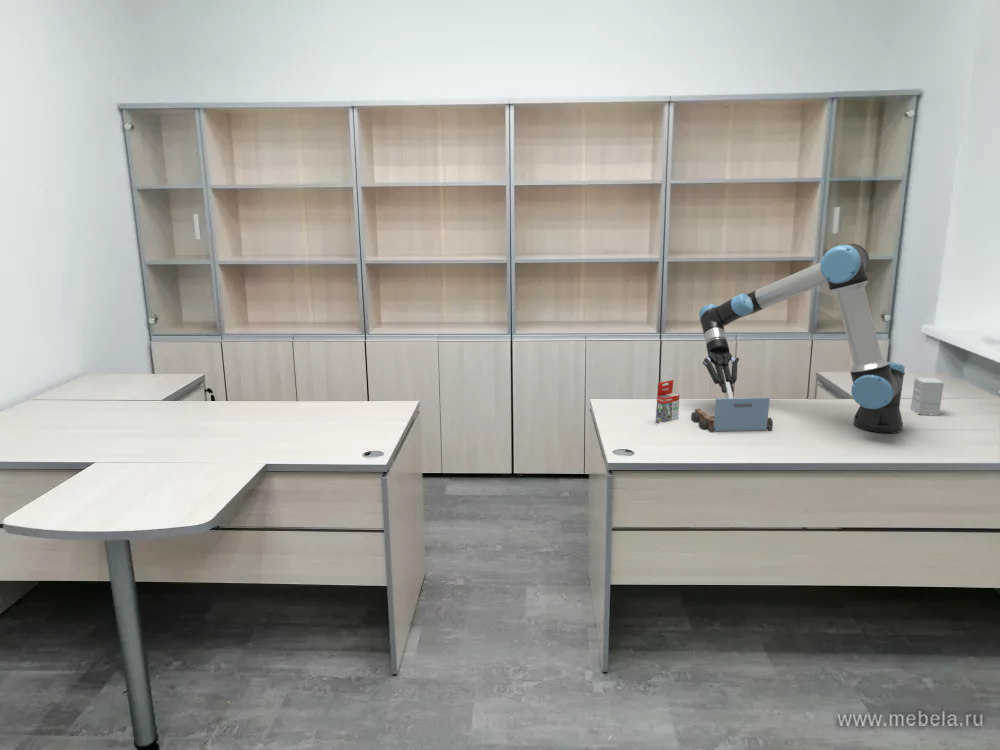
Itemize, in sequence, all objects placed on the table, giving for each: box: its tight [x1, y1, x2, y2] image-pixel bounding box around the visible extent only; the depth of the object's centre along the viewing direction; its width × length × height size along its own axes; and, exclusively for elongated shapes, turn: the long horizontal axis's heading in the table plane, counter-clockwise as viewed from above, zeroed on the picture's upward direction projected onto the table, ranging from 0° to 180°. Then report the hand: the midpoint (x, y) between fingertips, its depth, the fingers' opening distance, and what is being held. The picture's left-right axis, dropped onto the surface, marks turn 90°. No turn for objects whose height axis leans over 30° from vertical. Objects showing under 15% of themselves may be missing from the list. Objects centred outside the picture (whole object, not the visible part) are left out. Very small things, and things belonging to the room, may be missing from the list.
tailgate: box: [713, 397, 770, 433], centre depth 239 cm, size 1×18×12 cm, turn 94°
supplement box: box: [910, 377, 945, 416], centre depth 262 cm, size 7×7×13 cm
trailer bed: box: [690, 408, 774, 433], centre depth 247 cm, size 16×24×4 cm, turn 94°
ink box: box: [655, 379, 680, 424], centre depth 251 cm, size 4×8×15 cm, turn 123°
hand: (730, 400), depth 247 cm, fingers closed
